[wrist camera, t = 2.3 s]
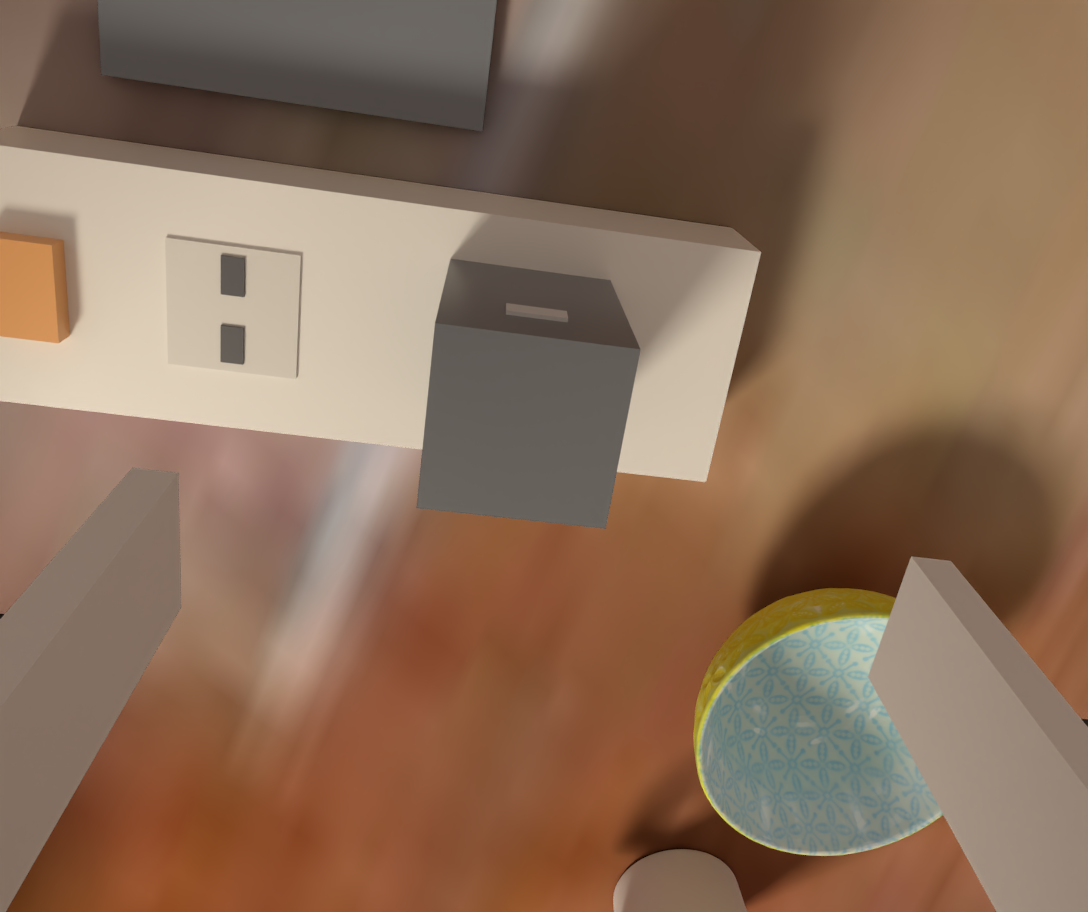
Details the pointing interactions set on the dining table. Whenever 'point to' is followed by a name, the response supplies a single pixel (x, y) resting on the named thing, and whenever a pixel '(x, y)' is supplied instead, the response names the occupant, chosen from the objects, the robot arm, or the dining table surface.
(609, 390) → the charger
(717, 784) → the bowl
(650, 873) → the mug
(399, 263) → the strip
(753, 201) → the dining table surface
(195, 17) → the mat
